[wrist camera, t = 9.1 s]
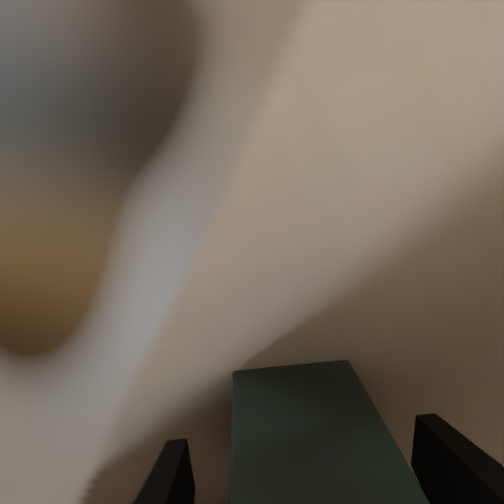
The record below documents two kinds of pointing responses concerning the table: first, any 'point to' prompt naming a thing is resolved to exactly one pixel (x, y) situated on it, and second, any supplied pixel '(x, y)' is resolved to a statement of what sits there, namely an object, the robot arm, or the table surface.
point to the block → (313, 440)
